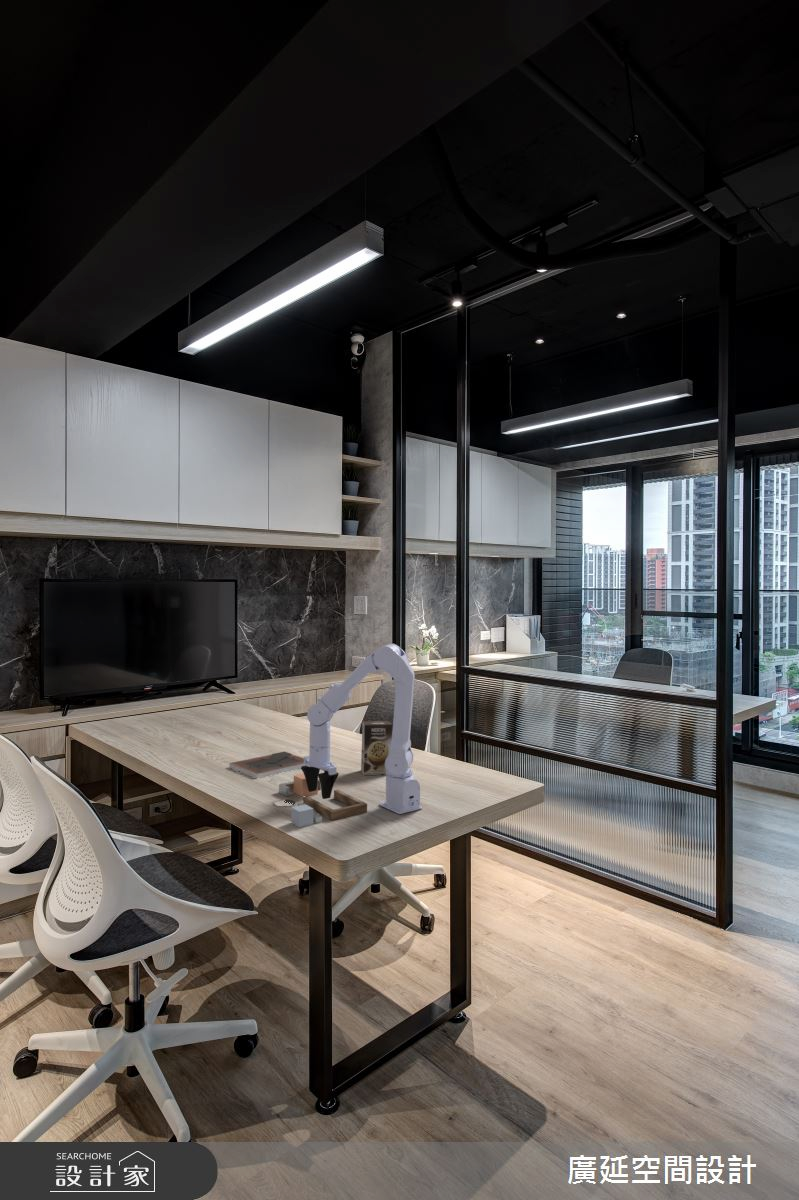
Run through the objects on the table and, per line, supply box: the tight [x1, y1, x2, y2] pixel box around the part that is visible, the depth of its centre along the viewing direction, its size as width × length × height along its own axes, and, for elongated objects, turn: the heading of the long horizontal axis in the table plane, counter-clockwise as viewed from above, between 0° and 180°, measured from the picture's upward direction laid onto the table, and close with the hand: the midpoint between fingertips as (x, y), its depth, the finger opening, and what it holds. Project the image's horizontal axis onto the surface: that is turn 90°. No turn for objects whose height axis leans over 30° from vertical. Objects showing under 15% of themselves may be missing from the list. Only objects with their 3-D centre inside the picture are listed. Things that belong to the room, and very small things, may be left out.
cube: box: [293, 773, 319, 798], centre depth 188 cm, size 5×5×5 cm
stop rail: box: [278, 778, 321, 797], centre depth 190 cm, size 4×12×2 cm, turn 128°
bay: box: [302, 789, 368, 821], centre depth 175 cm, size 15×11×2 cm
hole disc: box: [284, 798, 297, 806], centre depth 179 cm, size 6×6×1 cm
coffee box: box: [360, 720, 393, 776], centre depth 210 cm, size 9×6×16 cm
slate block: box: [290, 804, 314, 828], centre depth 164 cm, size 4×4×4 cm
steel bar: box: [296, 802, 323, 824], centre depth 170 cm, size 12×2×2 cm, turn 31°
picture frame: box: [228, 751, 306, 779], centre depth 214 cm, size 16×2×22 cm
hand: (319, 794), depth 182 cm, fingers open, 7 cm apart
